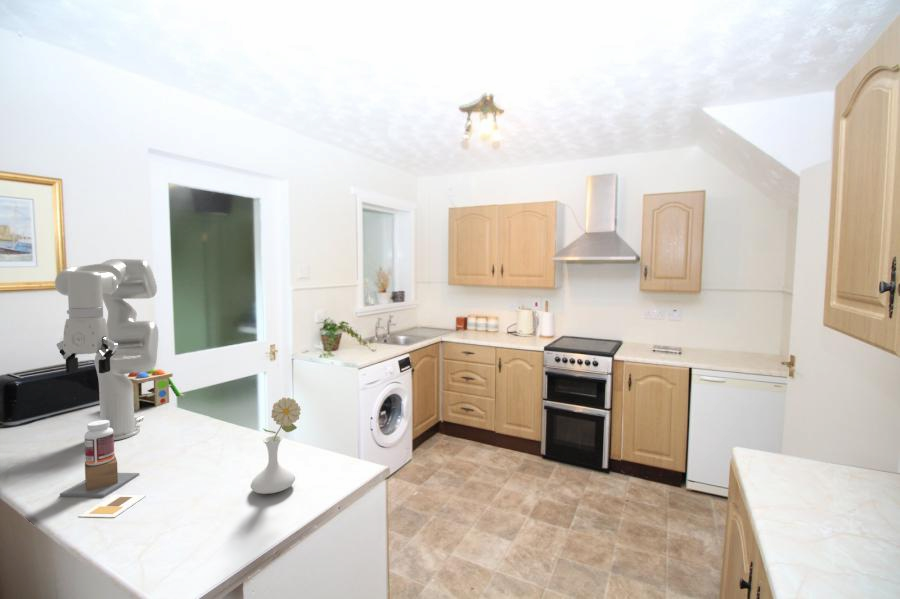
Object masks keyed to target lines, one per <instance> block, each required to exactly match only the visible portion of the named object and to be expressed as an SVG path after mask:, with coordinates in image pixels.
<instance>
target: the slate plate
mask: <svg viewBox="0 0 900 599" xmlns="http://www.w3.org/2000/svg"><path fill="white" fill-rule="evenodd" d="M139 476H140V472H139V473H138V472H118V483H116V484H112V485H108V486H104V487H100V488H97V489H93V490H89V491H87V489H86V483H85V480H84V479H83V480H82V481H80V482H79V483H76V484H75V485H72V486H71V487H69V488H67V489H66V490H63V491H61V492H60V493H59V497H67V498H69V497H75V498H105V497H107V496H108V495H111V494H112V493H114V492H115V491H117V490H119V489H120V488H122V487H124V486H125V485H126V484H129V483H130V482H131V481H133V480H134V479H136V478H137V477H139Z"/></svg>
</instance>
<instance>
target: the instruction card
mask: <svg viewBox="0 0 900 599" xmlns="http://www.w3.org/2000/svg"><path fill="white" fill-rule="evenodd" d="M146 496H147V495H145V494H143V495H142V494H141V495H140V494H139V495H137V494H136V495H135V494H134V495H133V494H130V495H129V494H112V495H110V496H109V497H107V498H106V499H104V500H102V501H101V502H99V503H97V504H95V505H93V507H90V509H88V510H86V511H84V512H83V513H81V514H79V515H78V516H77V517H78V518H106V519H107V518H114V519H115V518H116V517H118V516H119V515H121V514H122V513H124V512H125V511H127V510H128V509H130V508H131V507H133V506H134V505H135V504H137V503H138V502H140V501H141V500H142V499H145V497H146Z"/></svg>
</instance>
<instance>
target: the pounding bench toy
mask: <svg viewBox="0 0 900 599" xmlns="http://www.w3.org/2000/svg"><path fill="white" fill-rule="evenodd" d="M124 375H125V376H127V377H128V378H129V379H130V380H131V382H132V384H133V392H134V411H139V410H140V402H147V403H148V404H149V405H154V407H159V406H163V405H165V404H169V403H170V389H169V388H171V390H172V392H173V393H174V395H175V396H176V397H181V396H182V397H185V396H186V394H184V393H180V391H179V390H178V388H177V387H176V385H175V383H174V382H173V381H172V379H171V378H173V376H174V375H173V372H169V371H164V370H163V369H156V368H154V369H153V370H151V371H148V372H139V373H128V374H124ZM147 382H153V387H152V388H149V389H148V390H147V392H149V393H143V391H142V390H143V389H142V388H143V386H142V385H143V384H145V383H147Z"/></svg>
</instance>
